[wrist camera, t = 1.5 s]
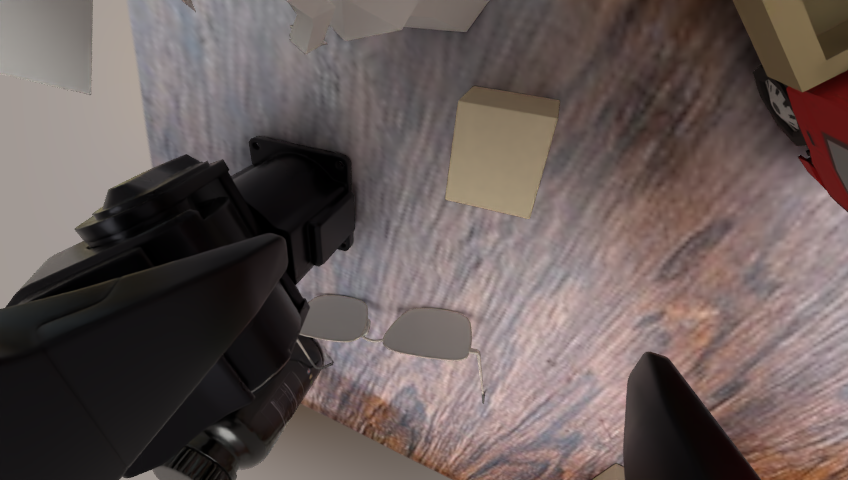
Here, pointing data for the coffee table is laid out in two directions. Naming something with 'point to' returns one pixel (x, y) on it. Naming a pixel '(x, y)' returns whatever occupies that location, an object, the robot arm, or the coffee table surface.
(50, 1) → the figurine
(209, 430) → the supplement bottle
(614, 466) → the pad holder
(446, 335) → the eyeglasses
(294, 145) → the robot arm
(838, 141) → the toy truck
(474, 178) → the beige block
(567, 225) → the coffee table surface
